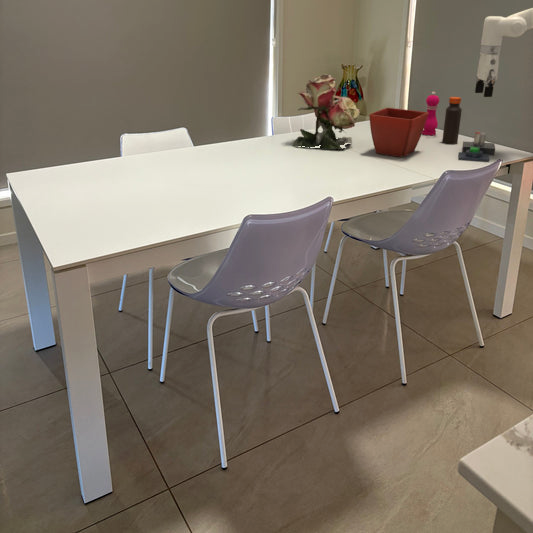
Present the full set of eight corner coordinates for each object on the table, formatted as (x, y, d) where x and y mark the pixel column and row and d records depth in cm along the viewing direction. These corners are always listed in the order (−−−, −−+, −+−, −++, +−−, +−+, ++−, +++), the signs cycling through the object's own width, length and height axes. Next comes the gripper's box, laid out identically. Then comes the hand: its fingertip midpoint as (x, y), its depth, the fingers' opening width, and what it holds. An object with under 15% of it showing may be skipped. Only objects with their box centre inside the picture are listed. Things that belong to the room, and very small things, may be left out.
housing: (488, 156, 247) (489, 149, 245) (489, 162, 239) (490, 155, 238) (458, 154, 250) (459, 147, 249) (458, 160, 242) (459, 153, 241)
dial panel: (493, 150, 257) (494, 142, 255) (494, 155, 248) (495, 148, 247) (462, 148, 260) (463, 140, 259) (462, 153, 252) (463, 146, 250)
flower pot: (424, 151, 256) (429, 111, 249) (408, 160, 242) (412, 119, 235) (384, 145, 266) (387, 107, 258) (365, 154, 251) (368, 114, 244)
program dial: (484, 143, 254) (486, 131, 252) (484, 146, 250) (486, 133, 248) (473, 143, 255) (475, 131, 253) (473, 145, 252) (475, 133, 249)
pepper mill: (430, 136, 280) (435, 93, 272) (418, 133, 286) (422, 91, 277) (439, 134, 285) (444, 91, 276) (427, 131, 290) (432, 89, 281)
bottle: (460, 142, 270) (466, 97, 261) (452, 145, 265) (458, 99, 257) (446, 140, 274) (452, 96, 265) (439, 142, 269) (444, 97, 261)
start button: (478, 151, 244) (479, 147, 244) (478, 153, 241) (479, 149, 240) (469, 150, 245) (470, 146, 245) (469, 153, 242) (470, 148, 241)
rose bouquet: (355, 151, 255) (359, 80, 242) (289, 147, 262) (290, 77, 249) (362, 138, 278) (366, 72, 265) (301, 135, 285) (302, 70, 272)
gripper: (508, 52, 224) (500, 98, 232) (491, 48, 240) (484, 91, 247) (489, 52, 224) (481, 98, 231) (472, 48, 240) (466, 91, 247)
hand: (483, 94), depth 239 cm, fingers open, 9 cm apart
